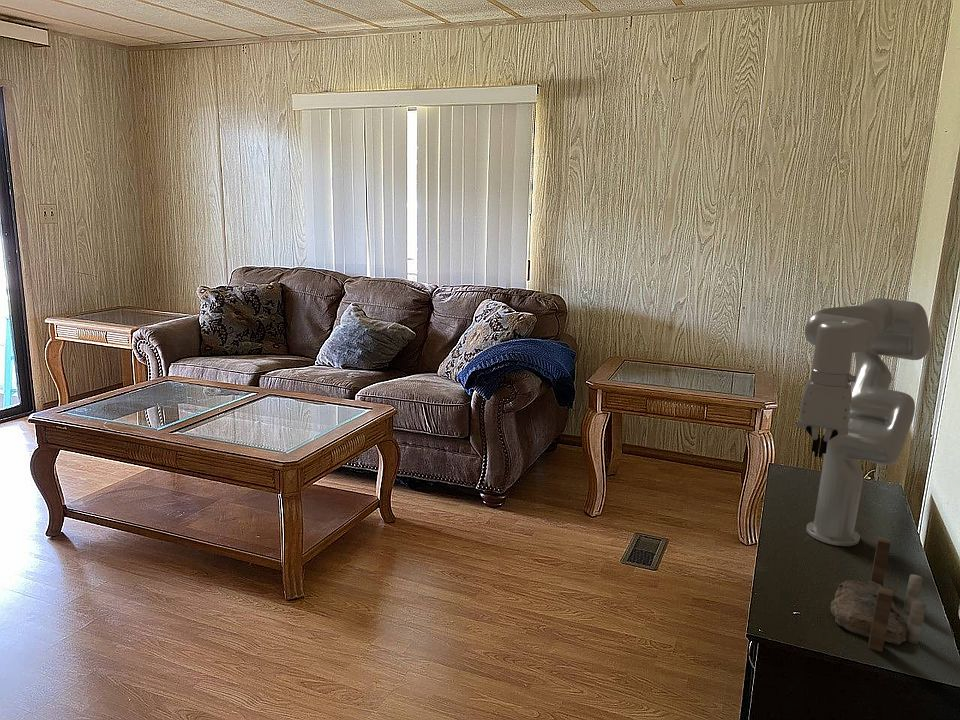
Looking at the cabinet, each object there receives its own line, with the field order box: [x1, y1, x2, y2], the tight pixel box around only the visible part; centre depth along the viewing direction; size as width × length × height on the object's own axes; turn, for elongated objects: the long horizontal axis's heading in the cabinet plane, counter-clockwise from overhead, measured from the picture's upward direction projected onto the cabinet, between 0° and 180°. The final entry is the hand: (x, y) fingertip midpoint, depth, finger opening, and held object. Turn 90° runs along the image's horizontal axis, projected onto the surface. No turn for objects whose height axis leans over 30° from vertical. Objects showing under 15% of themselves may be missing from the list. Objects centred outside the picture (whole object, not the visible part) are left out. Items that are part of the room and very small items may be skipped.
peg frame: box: [868, 536, 927, 653], centre depth 154 cm, size 27×9×12 cm, turn 153°
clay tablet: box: [830, 579, 907, 646], centre depth 157 cm, size 14×5×20 cm
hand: (818, 455), depth 170 cm, fingers closed
